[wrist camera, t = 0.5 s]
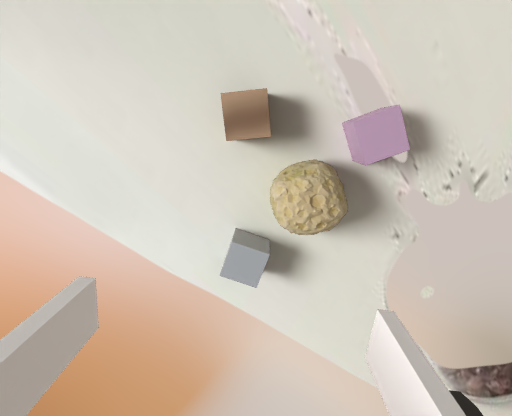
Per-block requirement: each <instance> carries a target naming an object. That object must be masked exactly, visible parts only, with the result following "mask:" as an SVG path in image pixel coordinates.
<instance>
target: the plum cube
mask: <svg viewBox="0 0 512 416" xmlns="http://www.w3.org/2000/svg"><path fill="white" fill-rule="evenodd" d="M342 125H343V128H344V132H345V135H346V139H347V143H348V146H349V150H350V153H351V157H352V160H353V161H355V162H358V163H360V164H363V165H368V164H371V163H374V162H377V161H379V160H382V159H385V158H388V157H391V156H394V155H396V154H399V153H402V152H404V151H408V150H410V147H409V143H408V138H407V134H406V130H405V125H404V121H403V117H402V112H401V108H400V105H395V106H390V107H384V108H380V109H377V110H375V111H372V112H369V113H367V114H364V115H362V116H359V117H356V118H354V119H351V120H348V121H346V122H343V123H342Z"/></svg>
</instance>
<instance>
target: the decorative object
mask: <svg viewBox="0 0 512 416" xmlns="http://www.w3.org/2000/svg"><path fill="white" fill-rule="evenodd" d="M270 203H271V206H272V210H273V212H274V215H275V217H276V219H277V221H278V223H279V224H280V226H282V227H283V228H285V229H287V230H289V231H290V233H295V234H298V235H314V234H317V233H319V232H324V231H329V230H331V229H332V228H333V227H334V226H335V225H337V224H338V223H339V222H340V220H341V218H342V217H343V216H345V215H346V213H347V212H348V210H347V208H348V205H347V200H346V198H345V193H344V188H343V184H342V183H341V181H340V179H339V177H338V175H337V172H336V170H335V169H334V168H333V167H332V166H331V165H328V164H326V163H324V162H322V161H317V160H308V161H304V162H299V163H296V164H293V165H290V166H289V167H287V168H285V169H284V170H283V171H281V172H280V173H279V175H278V176H277V177H276V178H275V179H274V180H273V184H272V186H271V188H270Z"/></svg>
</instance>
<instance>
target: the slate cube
mask: <svg viewBox="0 0 512 416" xmlns="http://www.w3.org/2000/svg"><path fill="white" fill-rule="evenodd" d="M269 256H270V244H269V239H266V238H263V237H260V236H257V235H254V234H251V233H248V232H245V231H243V230H240V229H237V228H236V229H235V232H234V235H233V238H232V240H231V243H230V246H229V249H228V252H227V255H226V257H225V260H224V264H223V267H222V270H221V273H220V276H222V277H225V278H228V279H231V280H234V281H237V282H240V283H243V284H246V285H249V286H252V287H255V288H257V285H258V283H259V280H260V278H261V275H262V273H263V270H264V268H265V265H266V263H267V260H268V258H269Z"/></svg>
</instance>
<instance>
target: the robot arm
mask: <svg viewBox="0 0 512 416" xmlns="http://www.w3.org/2000/svg"><path fill="white" fill-rule="evenodd" d="M98 328H99V325H98V309H97V294H96V278H90V277H81V276H79V277H78V278H76V279H75V280H74V281H73V282H72V283H70V284H69V285H68V286H67V287H65V288H64V289H63V290H62V291H60V292H59V293H58V294H57V295H55V296H54V297H53V298H52V299H50V300H49V301H48V302H47V303H45V304H44V305H43V306H42V307H41V308H39V309H38V310H37V311H36V312H34V313H33V314H32V315H31V316H29V317H28V318H27V319H26V320H24V321H23V322H22V323H21V324H19V325H18V326H17V327H16V328H15V329H13V330H12V331H11V332H10V333H9V334H7V335H6V336H5V337H3V338H2V339H1V340H0V416H26V415H27V414H28V413H29V411H30V410H31V409H32V408H33V407H34V405H35V404H36V403H37V402H38V401H39V399H40V398H41V397H42V396H43V394H44V393H45V392H46V391H47V390H48V388H49V387H50V386H51V385H52V384H53V382H54V381H55V380H56V379H57V378H58V376H59V375H60V374H61V373H62V372H63V370H64V369H65V368H66V367H67V366H68V364H69V363H70V362H71V361H72V359H73V358H74V357H75V355H76V354H77V353H78V352H79V351H80V350H81V349H82V347H83V346H84V345H85V344H86V343H87V341H88V340H89V339H90V338H91V336H92V335H93V334H94V333H95V332H96V330H97V329H98ZM365 359H366V361H367V363H368V366H369V368H370V371H371V373H372V375H373V378H374V380H375V382H376V385H377V387H378V389H379V392H380V394H381V396H382V399H383V401H384V403H385V406H386V408H387V410H388V413H389V415H390V416H483V415H482V413H481V412H480V411H479V409H478V408H477V407H476V406H475V405H474V404H473V403H472V402H471V401H470V400H469V399H468V398H467V397H465V396H464V395H463V394H462V393H461V392H459V391H450V390H448V389H447V387H446V386H445V384H444V383H443V381H442V380H441V378H440V377H439V376H438V374H437V373H436V371H435V370H434V368H433V367H432V365H431V364H430V363H429V361H428V360H427V358H426V357H425V355H424V354H423V352H422V351H421V349H420V348H419V347H418V345H417V344H416V342H415V341H414V339H413V338H412V336H411V335H410V334H409V332H408V331H407V329H406V328H405V326H404V325H403V323H402V322H401V320H400V319H399V318H398V316H397V315H396V313H395V312H394V311H388V310H379V309H378V310H377V313H376V317H375V321H374V325H373V328H372V332H371V336H370V340H369V344H368V347H367V351H366V355H365Z"/></svg>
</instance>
